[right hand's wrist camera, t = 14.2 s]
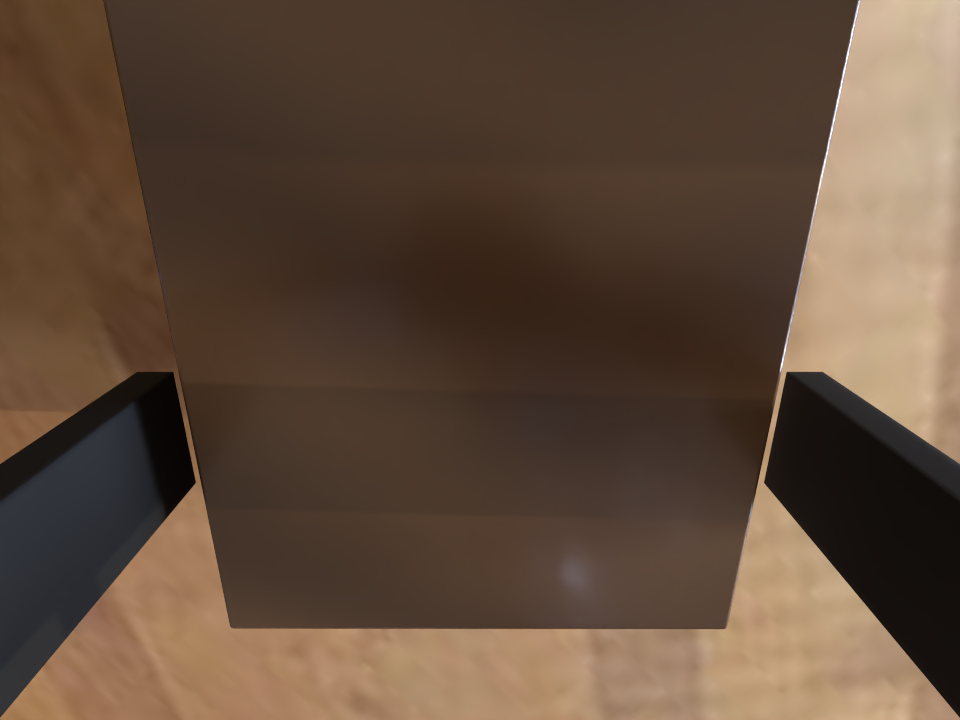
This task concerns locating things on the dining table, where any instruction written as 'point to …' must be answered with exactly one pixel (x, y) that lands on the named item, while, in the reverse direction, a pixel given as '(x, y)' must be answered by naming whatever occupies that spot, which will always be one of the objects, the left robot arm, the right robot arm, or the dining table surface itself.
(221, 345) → the cabinet
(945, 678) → the right robot arm
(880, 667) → the dining table surface
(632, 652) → the dining table surface
